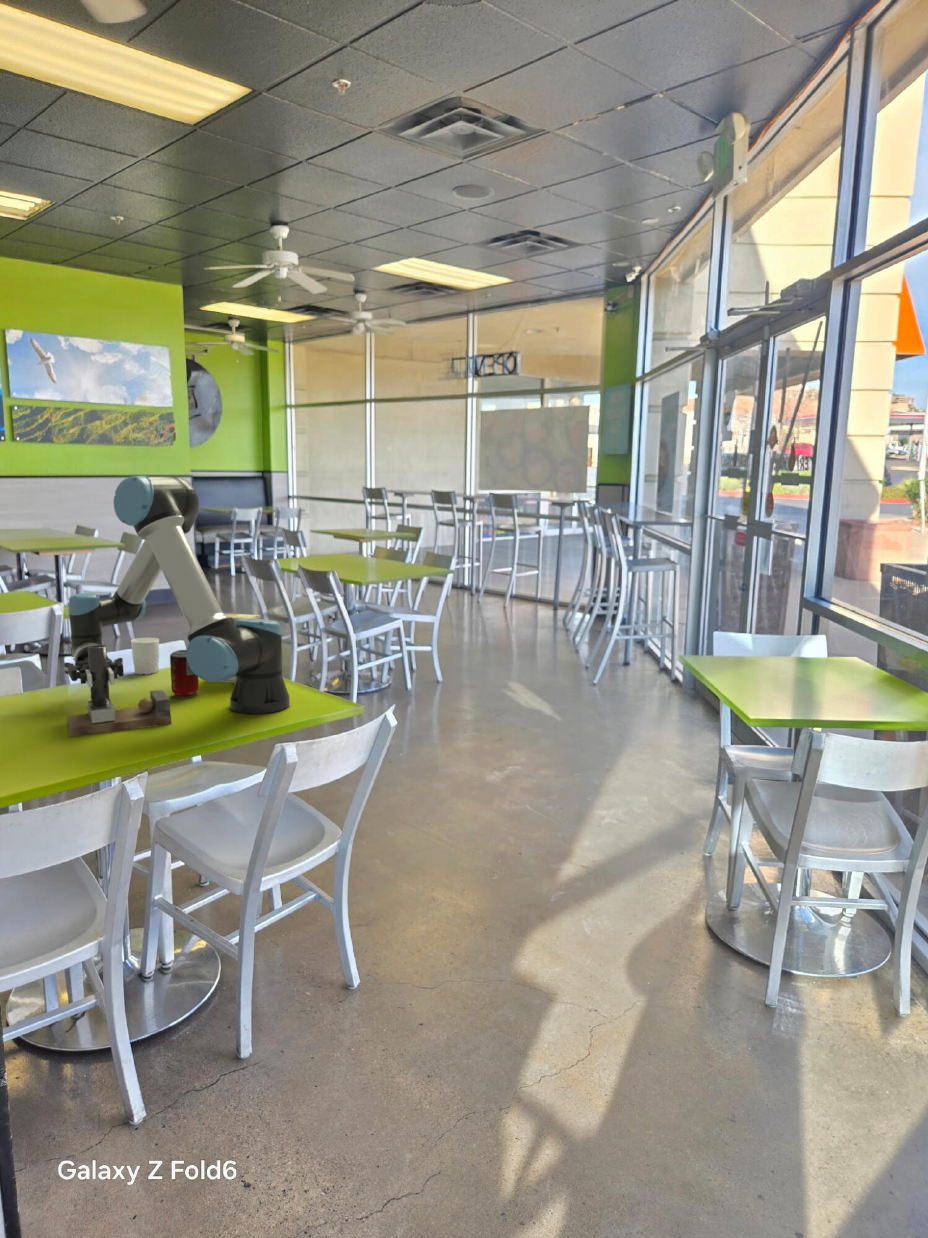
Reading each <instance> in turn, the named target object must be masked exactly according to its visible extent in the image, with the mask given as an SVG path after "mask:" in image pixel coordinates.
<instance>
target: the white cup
mask: <svg viewBox="0 0 928 1238" xmlns="http://www.w3.org/2000/svg"><path fill="white" fill-rule="evenodd" d="M130 644H131V652H132V653H131V655H132V663H133V665H134V666H133V668H134V669H133V670H134V673H135V674H136V675H142V674H145V675H151V673H153V674H157V673H158V672H159V663H160V639H159V638H157V637H139V638H134V639H131V640H130ZM157 671H158V672H157ZM156 672H157V673H156Z"/></svg>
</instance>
